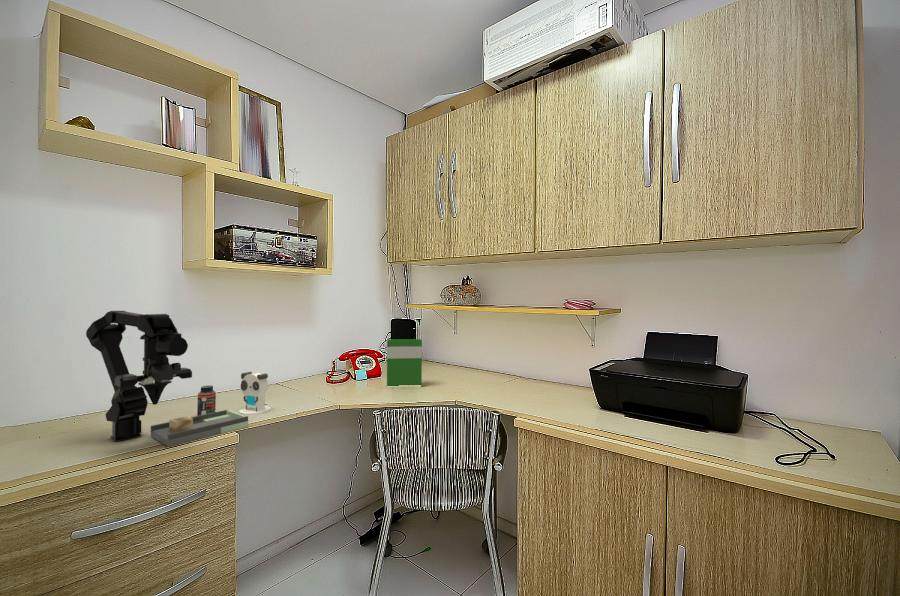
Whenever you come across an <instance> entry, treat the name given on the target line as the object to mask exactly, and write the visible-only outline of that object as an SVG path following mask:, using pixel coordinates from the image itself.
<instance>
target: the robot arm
mask: <svg viewBox="0 0 900 596" xmlns="http://www.w3.org/2000/svg"><path fill="white" fill-rule="evenodd" d="M127 326H129V327H134V328H137V330H138V331H139V332H142V333H143V334H142V335H141V336H140V338H139V340H144V341H143V357H142V362H143V370H142V375H137V374H132V373H130V371H129V369H128V366H127V363H126V361H125V357H124V354H123V353H122V349H121V347H120V345H121V343H122V340H123V339H124V337H123V333H125V331H126V330H127ZM85 336H86V338H87V339H88V342H89V343H90V345H91V346H92V348H94V349H95V350H98V351H99V352H100V354H101V356H102V360H103V362H104V365H105V368H106V370H107V371H106V372H107V374H108V377H109V379H110V382H111V385H112V387H113V391H114V392H113V396H112V398H111V401H110V403H111V407H110V408H109V409H108V410H107V412H106V413H105V420H106V421H107V422H111V423H112V429H111V435H110V437H109V438H110V439H112V440H113V441H114V442H122V441H125V440H129V439H133V438H134V439H135V438H139V437H141V436H142V434H141V433H142V420H141V419H140V417H141V416H145V414H146V411H147V407H148V403H149V401H148V399H147V398H148V397H149V399H150V401H151V403H152V406H155V405H158V403H159V401H160V398H161V396H162V393H163V392H164V389H165V388H166V387H167V385H168V384H171V383H172V382H173V381H172V380H173V379H174V378H177V377H179V378H180V379H181V380H183V379H190V378H193V371H192V370H191V368H189V367H188V368H187V367H182V364H181V363H180V362H172V363H170V361H169V357H168V356H170V357H171V356H173V357H174V356H175V357H181V356H182V355H184V354H185V353H186V352H187V350H188V346H189V344H188V341H187V340H186V339H185V338H184V337H182V333H180V332H179V331H178V329H177V328H176V326H175V324H174V322H173V319H172V318H171V317H170V315H169V314H168V313H150V314H149V313H148V314H147V313H146V314H144V313H143V314H142V313H137V312H136V313H135V312H130V311H127V310H110V311H107V312H106V313H105V314H104V315H103V316H102V317H100V318H98V319H97V320H94V321H93V322H92V323H91V324H90V326H88V328H87V329H86V331H85ZM136 384H138V385H139V386H136ZM145 392H146V393H147V395H148V396H147V395H146V393H145Z"/></svg>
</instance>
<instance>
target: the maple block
mask: <svg viewBox="0 0 900 596" xmlns="http://www.w3.org/2000/svg"><path fill="white" fill-rule="evenodd" d="M168 422H169V431H171V432H173V433H176V432H181V431H185V430H189V429H193V419H192V418H190V416H182V417H176V418H173V419H169V421H168Z"/></svg>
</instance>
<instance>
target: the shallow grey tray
mask: <svg viewBox="0 0 900 596" xmlns="http://www.w3.org/2000/svg"><path fill="white" fill-rule="evenodd" d="M189 417H190V416H189ZM190 418H192V419H193V429H189V430H185V431H181V432H176V433H173V432H171V431H169V421H167V422H162V423H158V424H152V425H150V438H153V439H154V440H156V441H158V442H159V441H160V442H159V443H161V442H162V443H161V444H163V445H165V446H167V447H168V448H169V447H174V446H177V445H181V444H185V443H189V442H193V441H198V440H202V439H205V438H209V437H214V436H216V435H221V434H225V433H228V432H232V431H236V430H241V429H244V428H248V427H249V415H248V416H247V415H246V414H241V413H239V412H236V411H233V410H231V409H224V410H219V411H215V412H214V413H209V414H204V415H199V416H197V415H196V416H191V417H190Z"/></svg>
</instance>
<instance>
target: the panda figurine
mask: <svg viewBox="0 0 900 596" xmlns="http://www.w3.org/2000/svg"><path fill="white" fill-rule="evenodd" d="M268 378H269V376H268V373H260V372H255V373H253V372H252V371H246V372H242V373H241V374H240V379H241V381H240V391H241V390H242V391H241V392H242V394H243V395H244V396H243V401H244V402H245V407H244V408H241V409H240V410H239V411H238V413H239V414H242V415H258V414H264V413H267V412H270V411H271V407H270V406H268V405H266V394H267V392H268V390H269V384H268V382H269V381H268Z"/></svg>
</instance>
